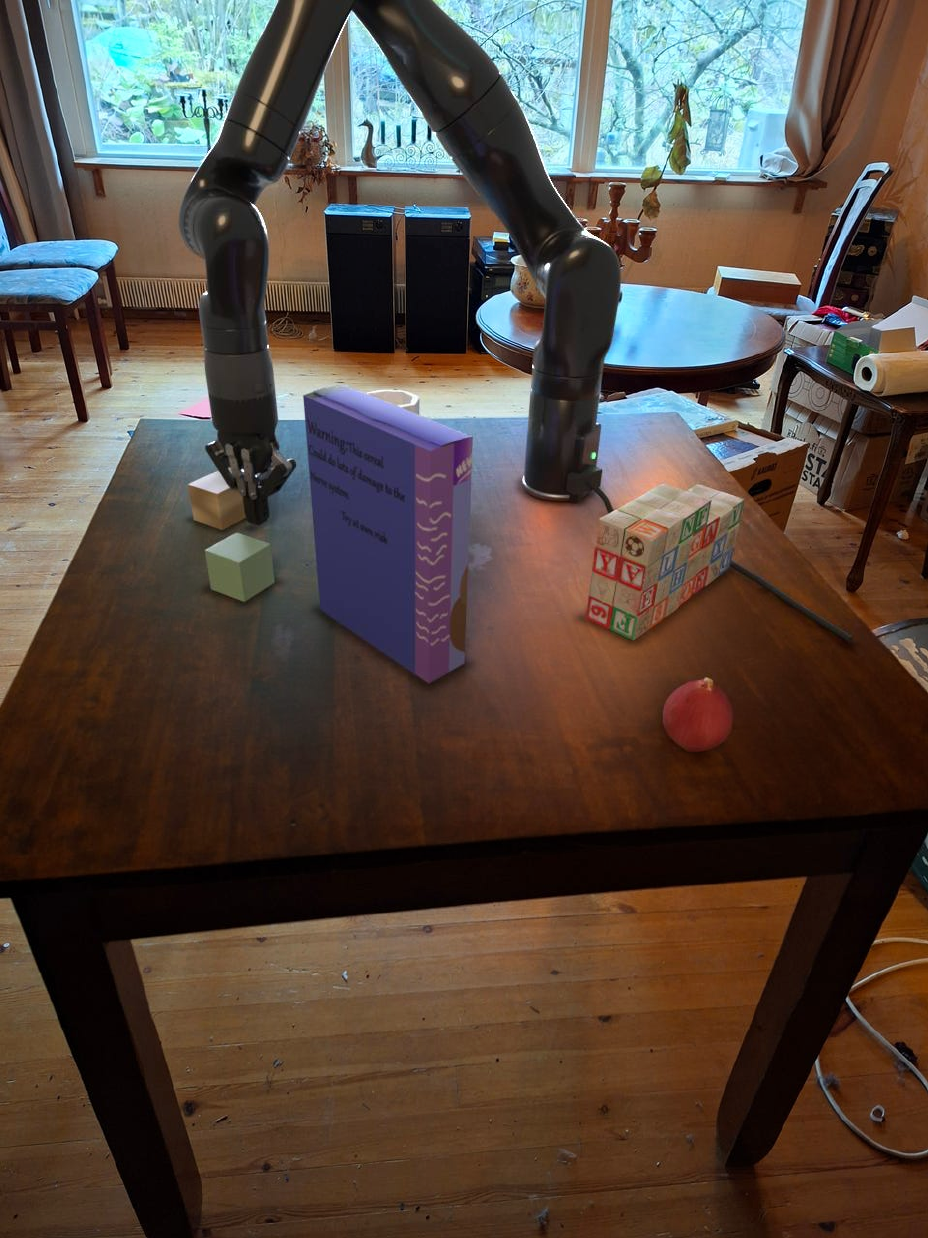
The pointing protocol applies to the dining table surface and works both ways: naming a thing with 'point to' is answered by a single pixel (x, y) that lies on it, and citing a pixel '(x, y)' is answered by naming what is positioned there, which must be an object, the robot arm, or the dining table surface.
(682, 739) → the onion
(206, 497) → the birch block
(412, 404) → the mug
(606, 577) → the stack of blocks
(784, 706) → the dining table surface
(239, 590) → the sage block
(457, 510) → the cereal box
